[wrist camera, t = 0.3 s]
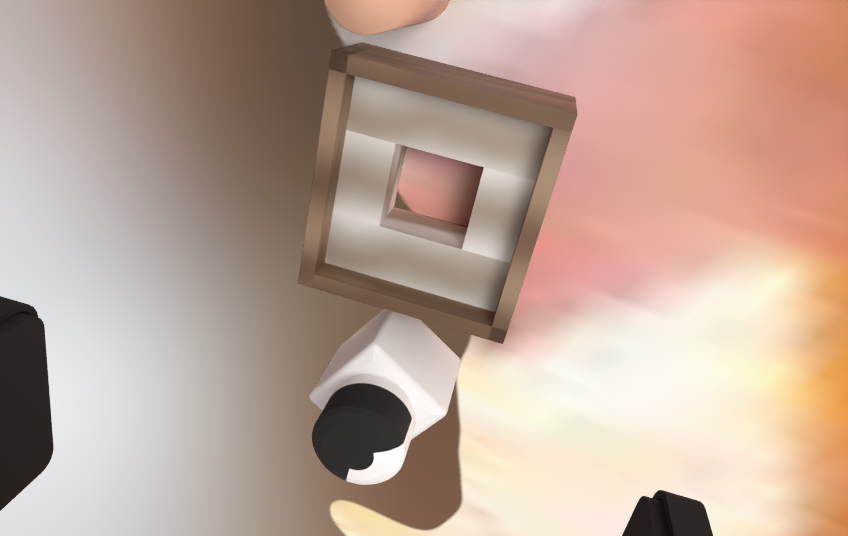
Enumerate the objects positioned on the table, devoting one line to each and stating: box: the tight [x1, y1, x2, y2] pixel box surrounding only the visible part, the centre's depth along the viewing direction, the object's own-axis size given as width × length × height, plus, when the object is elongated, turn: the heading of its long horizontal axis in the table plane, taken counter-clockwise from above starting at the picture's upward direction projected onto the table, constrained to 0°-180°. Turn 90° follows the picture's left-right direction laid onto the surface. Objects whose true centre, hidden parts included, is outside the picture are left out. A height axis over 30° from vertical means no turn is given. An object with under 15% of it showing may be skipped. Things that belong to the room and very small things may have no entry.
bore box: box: [298, 43, 577, 344], centre depth 40 cm, size 15×14×6 cm
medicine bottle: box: [309, 309, 460, 485], centre depth 44 cm, size 7×7×12 cm
